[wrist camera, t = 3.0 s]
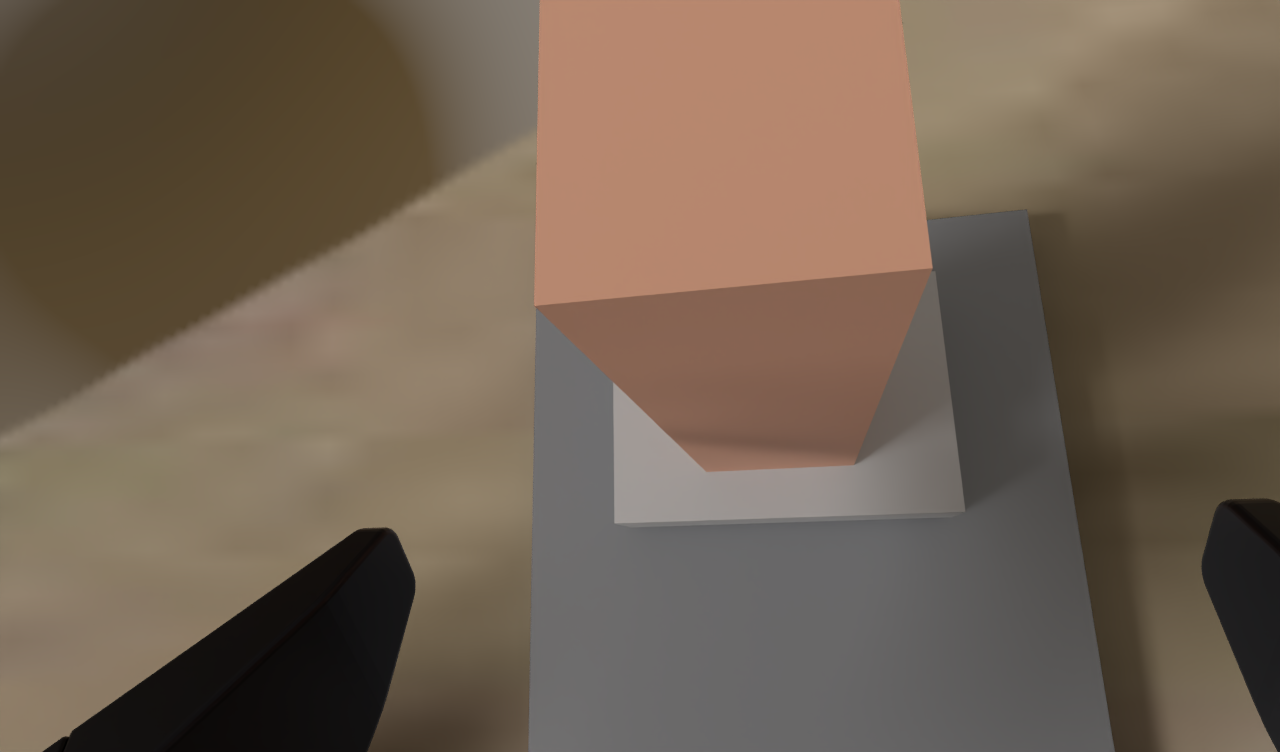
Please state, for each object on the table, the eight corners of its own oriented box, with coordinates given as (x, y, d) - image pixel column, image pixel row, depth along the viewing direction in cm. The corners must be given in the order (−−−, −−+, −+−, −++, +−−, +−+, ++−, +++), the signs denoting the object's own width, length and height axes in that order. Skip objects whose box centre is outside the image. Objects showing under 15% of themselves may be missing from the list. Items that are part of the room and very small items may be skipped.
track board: (1118, 900, 15) (1145, 929, 14) (544, 865, 18) (523, 887, 16) (1013, 231, 19) (1028, 207, 18) (551, 278, 21) (535, 260, 20)
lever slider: (952, 516, 16) (1286, 385, 5) (630, 527, 18) (298, 444, 6) (925, 296, 17) (1138, -225, 6) (627, 321, 19) (348, -61, 7)
